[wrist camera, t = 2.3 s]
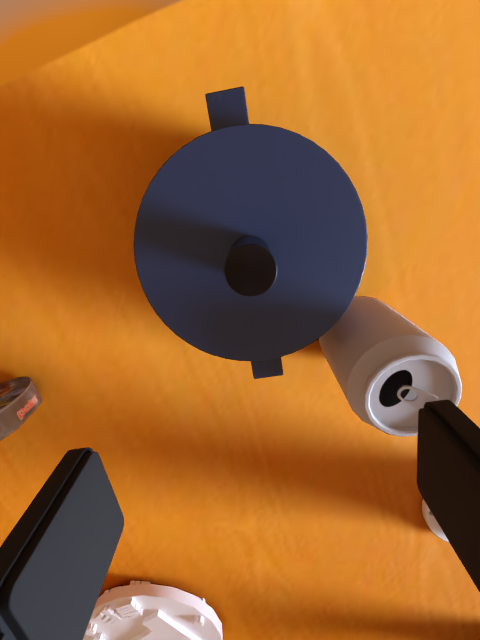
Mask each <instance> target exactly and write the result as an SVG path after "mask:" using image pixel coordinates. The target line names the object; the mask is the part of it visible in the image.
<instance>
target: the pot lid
mask: <svg viewBox="0 0 480 640" xmlns="http://www.w3.org/2000/svg"><path fill="white" fill-rule="evenodd" d="M367 240H368V236H367V227H366V219H365V215H364V211H363V207H362V204H361V201H360V199H359V196H358V194H357V191H356V189H355V187H354V186H353V184H352V182H351V180H350V178H349V177H348V175H347V174H346V173H345V171H344V170H343V169H342V167H341V166H340V165H339V163H338V162H337V161H336V160H335V159H334V158H333V157H332V156H330V155H329V154H328V153H327V152H326V151H325V150H324V149H322V148H321V147H320V146H318V145H317V144H316V143H314V142H313V141H311V140H309V139H307V138H305V137H303V136H301V135H300V134H298V133H295V132H292V131H289V130H286V129H283V128H280V127H275V126H269V125H263V124H242V125H234V126H228V127H224V128H220V129H217V130H213V131H211V132H208V133H206V134H204V135H202V136H199V137H197V138H195V139H194V140H192V141H191V142H189V143H187V144H186V145H184V146H183V147H182V148H180V149H179V150H178V151H177V152H176V153H174V154H173V155H172V156H171V157H170V158H169V159H168V160H167V161H166V162H165V163H164V165H163V166H162V167H161V168H160V169H159V170H158V172H157V173H156V175H155V176H154V178H153V179H152V181H151V182H150V184H149V186H148V188H147V190H146V192H145V194H144V196H143V198H142V201H141V204H140V207H139V210H138V214H137V219H136V224H135V230H134V255H135V263H136V268H137V273H138V277H139V280H140V283H141V285H142V288H143V291H144V293H145V295H146V297H147V299H148V301H149V303H150V304H151V306H152V307H153V309H154V310H155V312H156V314H157V315H158V316H159V317H160V318H161V320H162V321H163V322H164V323H165V324H166V326H168V327H169V328H170V329H171V330H172V331H173V332H174V333H175V334H176V335H177V336H179V337H180V338H182V339H183V340H184V341H186V342H187V343H189V344H190V345H192V346H194V347H196V348H198V349H199V350H202V351H204V352H206V353H209V354H211V355H214V356H218V357H222V358H225V359H231V360H238V361H260V360H269V359H274V358H279V357H282V356H285V355H288V354H291V353H294V352H296V351H298V350H300V349H302V348H304V347H306V346H308V345H309V344H311V343H313V342H314V341H316V340H317V339H318V338H320V337H321V336H322V335H324V334H325V333H326V332H327V331H328V330H329V329H330V328H331V327H332V326H333V325H334V324H335V323H336V322H337V321H338V320H339V319H340V317H341V316H342V315H343V314H344V312H345V311H346V310H347V308H348V306H349V305H350V303H351V301H352V300H353V298H354V296H355V294H356V292H357V289H358V287H359V285H360V282H361V279H362V276H363V272H364V269H365V263H366V257H367Z"/></svg>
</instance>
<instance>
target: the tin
mask: <svg viewBox="0 0 480 640" xmlns="http://www.w3.org/2000/svg"><path fill="white" fill-rule="evenodd" d="M41 402H42V397H41V395H40V393H39V392H38V390H37V389H36V387H35V386H34V384H33V383H32V380H31V378H29V377H19V378H15V379H12V380H8V381H5V382H2V383H0V440H2V439H4V438H5V437H7V436H8V435H10V434H11V433H12V432H14V431H15V430H16V429H18V428H19V427H20V426H21V425H22V424H23V423H24V422H25V420H26V419H27V418H28V417H29V416H30V415H31V414H32V413H33V412H34V411H35V409H36V408H37V407H38V406H39V404H40V403H41Z"/></svg>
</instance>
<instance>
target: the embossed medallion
mask: <svg viewBox="0 0 480 640" xmlns="http://www.w3.org/2000/svg"><path fill="white" fill-rule="evenodd" d="M83 640H223V637H222V623H221V621H220V620H219V618H218V616H217V615H216V613H215V611H214V610H213V608H211V607H210V606H209V605H207V604H206V603H205V599H204V598H202V599H201V598H200V597H197V596H195V595H193V594H190V593H187V592H185V591H182V590H180V589H177V588H174V587H170V586H162V585H155V584H151V583H150V582H149V581H142V582H141V581H136V582H135V581H131V582H130V585H128V586H122V587H121V586H118V587H115V588H112V589H110V590H109V589H108V590H105V592H104V594H102V595H101V596H100V597H99V598H98V599H97V602H96V605H95V608H94V610H93V613H92V616H91V619H90V621H89V624H88V627H87V630H86V632H85V635H84V638H83Z"/></svg>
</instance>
